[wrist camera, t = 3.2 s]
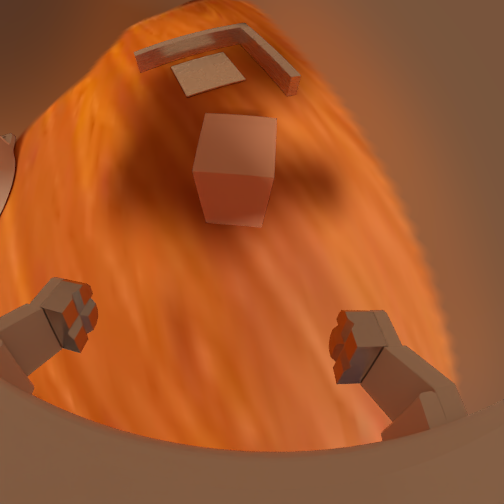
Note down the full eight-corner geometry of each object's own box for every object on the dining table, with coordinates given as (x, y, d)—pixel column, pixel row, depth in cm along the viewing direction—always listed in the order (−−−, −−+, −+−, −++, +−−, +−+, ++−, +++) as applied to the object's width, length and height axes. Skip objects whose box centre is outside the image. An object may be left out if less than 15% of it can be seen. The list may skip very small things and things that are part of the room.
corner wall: (296, 94, 26) (301, 75, 24) (164, 135, 24) (157, 115, 21) (243, 39, 29) (244, 22, 26) (138, 68, 27) (133, 52, 24)
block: (206, 222, 22) (192, 171, 14) (213, 175, 23) (205, 113, 15) (261, 227, 22) (274, 177, 14) (264, 179, 23) (276, 118, 16)
